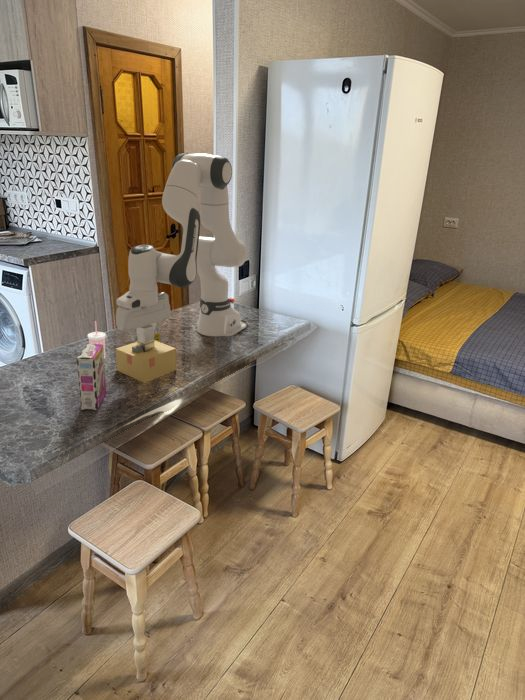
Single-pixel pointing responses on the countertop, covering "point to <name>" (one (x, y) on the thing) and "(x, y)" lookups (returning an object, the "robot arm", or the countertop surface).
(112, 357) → the countertop surface
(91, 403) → the candy bar box
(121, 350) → the housing
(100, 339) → the beverage cup
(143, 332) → the column
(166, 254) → the robot arm
